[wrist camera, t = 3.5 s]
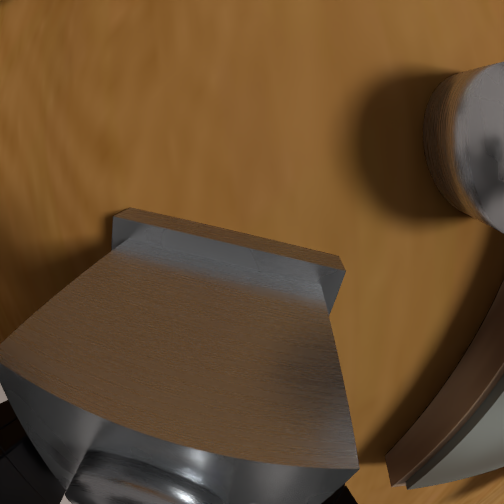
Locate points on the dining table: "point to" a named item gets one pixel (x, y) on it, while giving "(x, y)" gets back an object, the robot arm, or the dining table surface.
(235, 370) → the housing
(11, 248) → the dining table surface
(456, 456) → the stand
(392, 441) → the dining table surface
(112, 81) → the dining table surface
